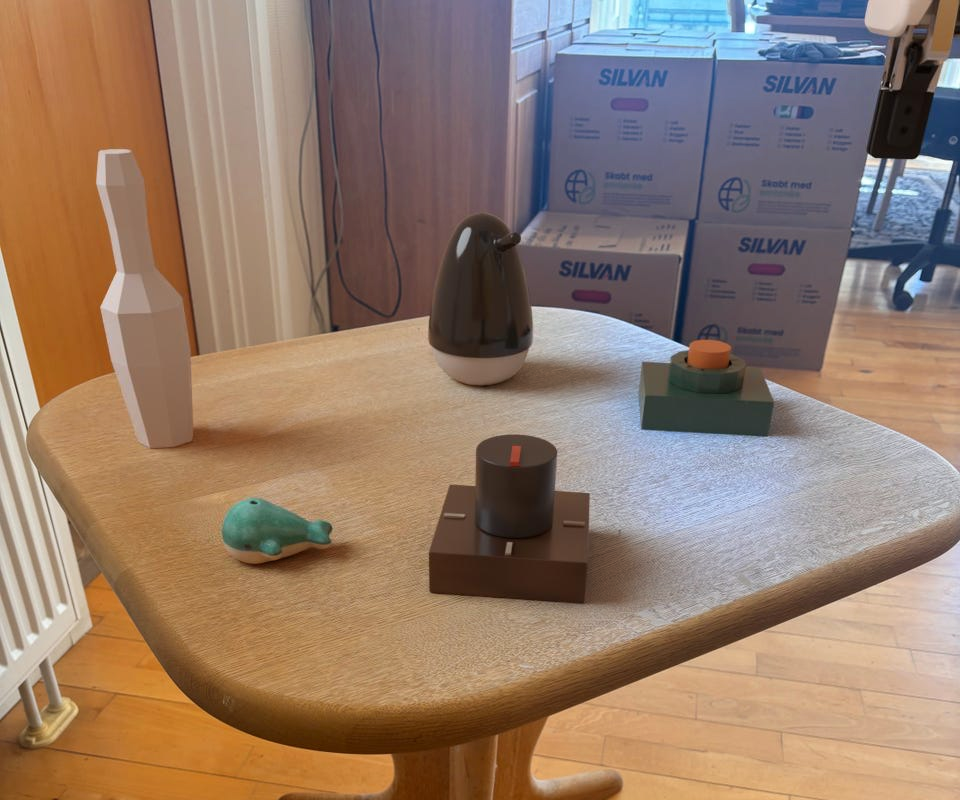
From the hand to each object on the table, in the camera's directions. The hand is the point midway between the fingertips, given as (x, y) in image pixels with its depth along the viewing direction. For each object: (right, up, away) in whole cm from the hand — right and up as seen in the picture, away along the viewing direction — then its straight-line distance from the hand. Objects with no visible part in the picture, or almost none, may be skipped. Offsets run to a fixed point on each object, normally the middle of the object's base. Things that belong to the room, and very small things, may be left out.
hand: (891, 156), depth 67 cm
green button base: (-8, -13, +22) cm, 27 cm away
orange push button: (-8, -9, +19) cm, 23 cm away
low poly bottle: (-55, -16, +16) cm, 60 cm away
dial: (-26, -25, -2) cm, 37 cm away
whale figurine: (-42, -28, 0) cm, 50 cm away
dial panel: (-26, -28, -1) cm, 38 cm away
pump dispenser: (-28, -7, +29) cm, 42 cm away
